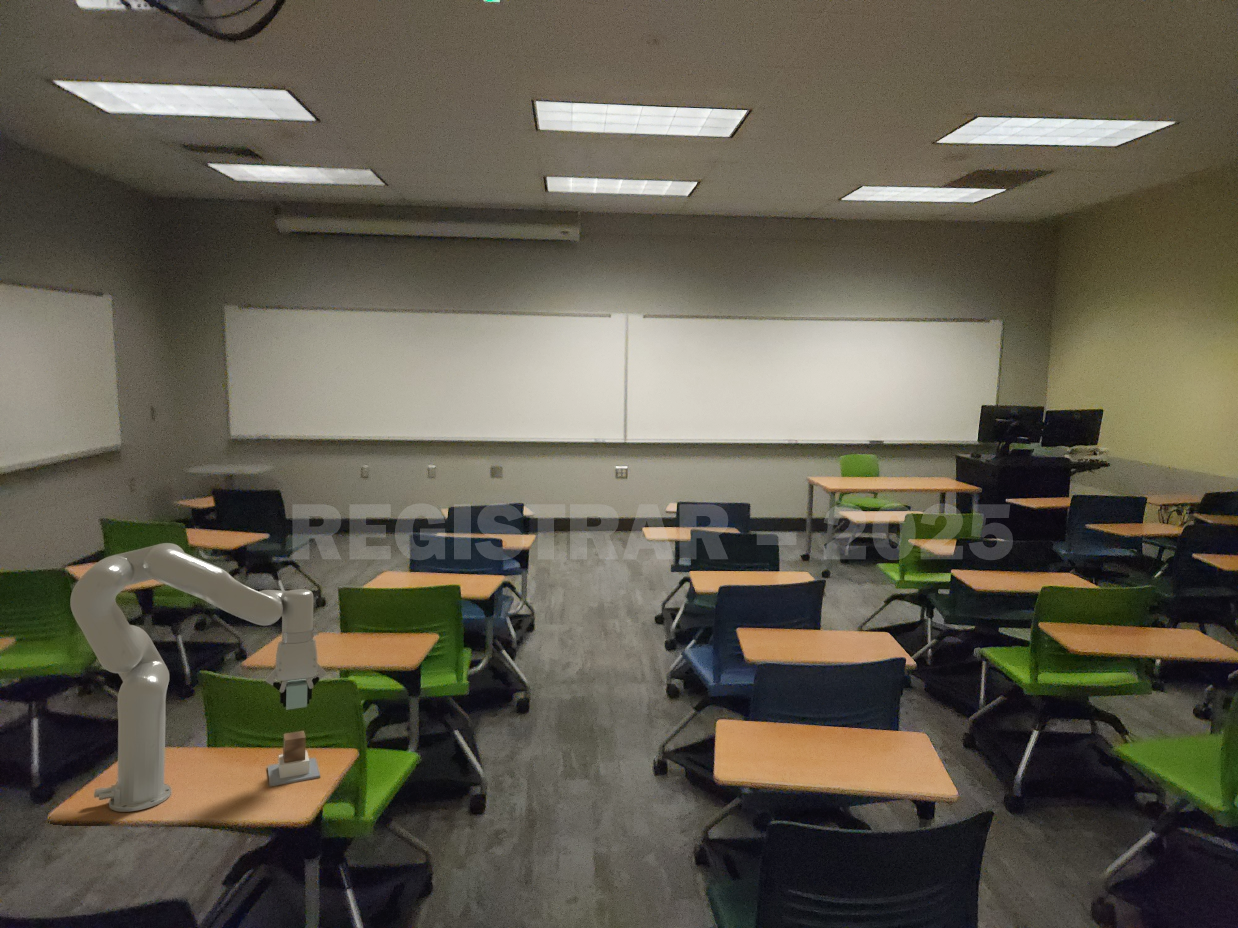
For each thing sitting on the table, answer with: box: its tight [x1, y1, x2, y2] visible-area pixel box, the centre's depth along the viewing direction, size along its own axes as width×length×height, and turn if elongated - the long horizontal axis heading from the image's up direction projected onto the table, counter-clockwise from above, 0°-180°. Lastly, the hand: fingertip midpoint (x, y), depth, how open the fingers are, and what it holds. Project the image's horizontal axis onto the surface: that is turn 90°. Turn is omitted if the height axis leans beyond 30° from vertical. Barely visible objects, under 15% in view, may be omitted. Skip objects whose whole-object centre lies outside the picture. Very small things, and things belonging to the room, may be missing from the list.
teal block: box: [285, 679, 308, 711], centre depth 186 cm, size 5×5×6 cm
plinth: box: [267, 749, 321, 788], centre depth 186 cm, size 12×12×4 cm
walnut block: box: [282, 730, 307, 763], centre depth 186 cm, size 5×5×6 cm
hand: (295, 703), depth 186 cm, fingers closed on teal block, 4 cm apart
